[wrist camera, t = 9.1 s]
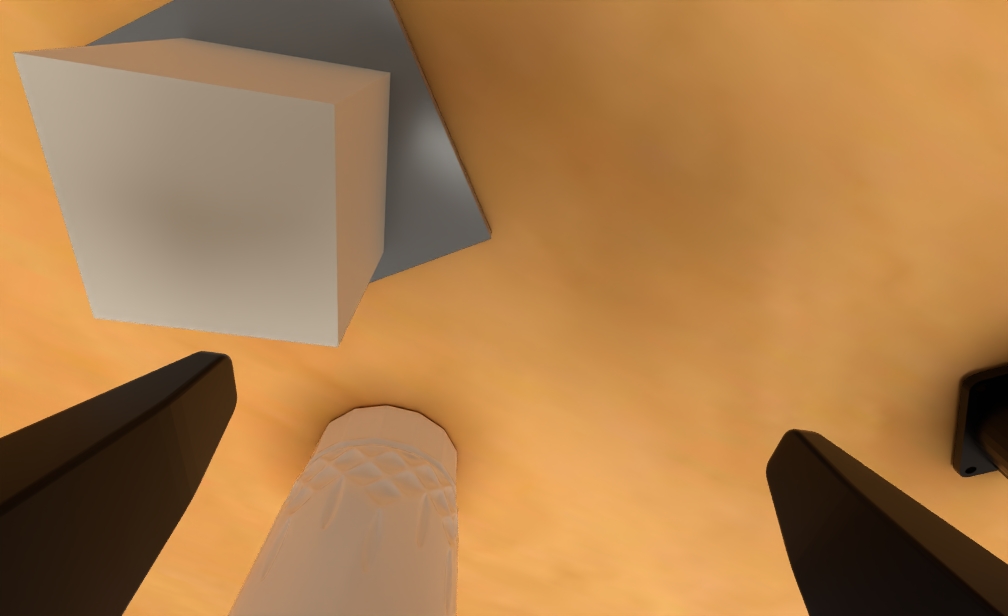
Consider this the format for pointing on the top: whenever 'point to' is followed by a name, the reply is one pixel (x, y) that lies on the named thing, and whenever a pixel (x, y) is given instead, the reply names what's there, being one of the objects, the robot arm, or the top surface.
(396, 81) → the coaster
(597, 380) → the top surface
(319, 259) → the cube
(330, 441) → the white cup
